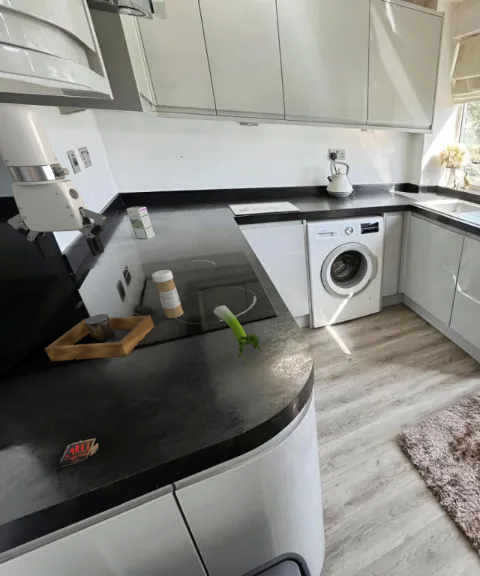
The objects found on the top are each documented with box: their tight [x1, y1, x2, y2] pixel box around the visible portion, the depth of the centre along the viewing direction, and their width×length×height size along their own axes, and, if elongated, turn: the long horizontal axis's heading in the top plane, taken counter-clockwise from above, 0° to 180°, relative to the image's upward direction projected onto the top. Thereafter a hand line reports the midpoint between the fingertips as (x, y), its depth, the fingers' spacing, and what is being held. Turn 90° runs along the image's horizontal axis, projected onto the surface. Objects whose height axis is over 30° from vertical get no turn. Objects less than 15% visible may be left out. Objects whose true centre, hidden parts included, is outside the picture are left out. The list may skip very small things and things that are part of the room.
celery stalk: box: [213, 305, 263, 362], centre depth 83 cm, size 6×7×30 cm
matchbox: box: [59, 437, 99, 468], centre depth 54 cm, size 5×5×1 cm
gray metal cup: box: [85, 313, 119, 344], centre depth 80 cm, size 4×4×7 cm
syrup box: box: [126, 206, 156, 240], centre depth 154 cm, size 6×6×14 cm
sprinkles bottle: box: [151, 269, 184, 320], centre depth 90 cm, size 5×5×14 cm
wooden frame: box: [44, 315, 155, 362], centre depth 80 cm, size 16×13×4 cm
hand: (74, 255), depth 72 cm, fingers open, 9 cm apart
